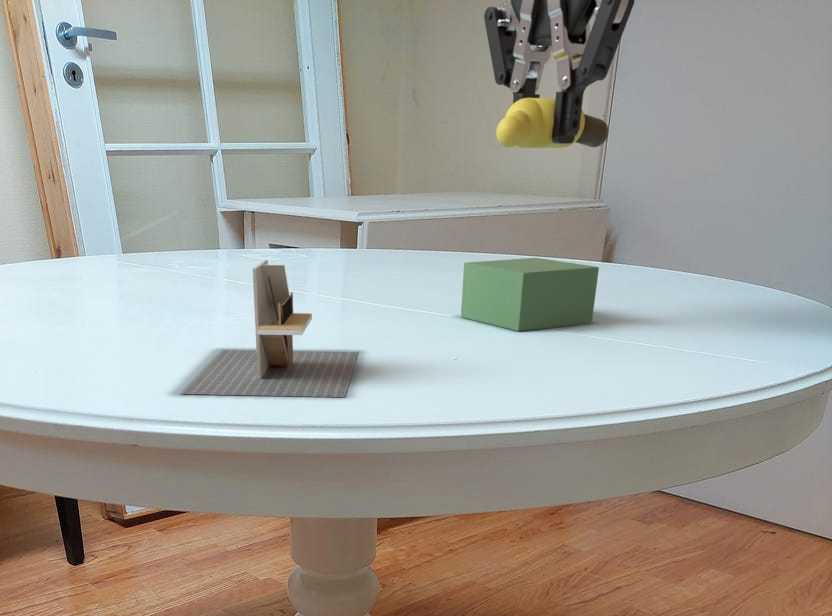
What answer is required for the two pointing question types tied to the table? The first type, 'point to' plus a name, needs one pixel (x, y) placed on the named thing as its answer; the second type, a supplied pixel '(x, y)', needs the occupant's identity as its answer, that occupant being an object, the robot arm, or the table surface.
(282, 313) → the architectural model
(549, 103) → the knobbed yellow capsule
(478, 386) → the table surface
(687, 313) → the table surface
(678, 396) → the table surface
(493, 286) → the block
